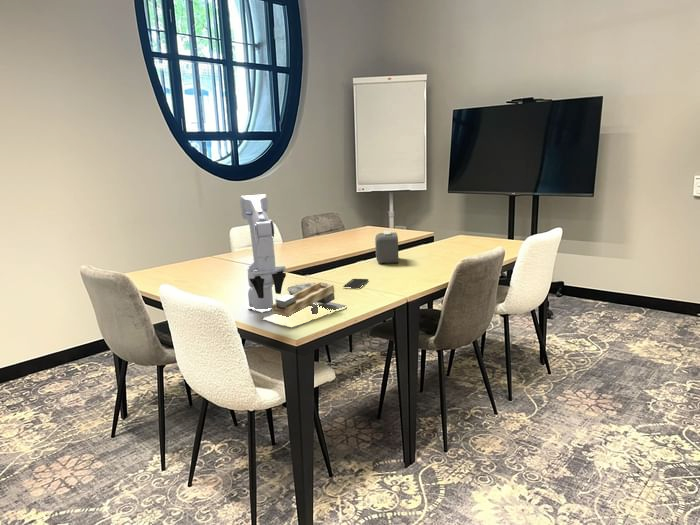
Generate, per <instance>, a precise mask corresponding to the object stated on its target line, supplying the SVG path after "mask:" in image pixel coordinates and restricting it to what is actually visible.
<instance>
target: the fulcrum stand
mask: <svg viewBox="0 0 700 525" xmlns="http://www.w3.org/2000/svg"><path fill="white" fill-rule="evenodd" d="M317 303H318V305H319V307H320V306H322V308H323V307H324V308H325V309H327V308H328V309H329V310H330V309H331V310H332V309H333V310H336V309H339V308H342V307H345V306H347V305H346V304H341V303H338V302H337V303H336V302H333V301H331V302H329V303H327V304H323V303H319V302H315V304H316V305H317ZM318 305H317V306H318ZM328 309H327V310H328ZM311 311H312V314H317V313H318V307H313V308H311ZM330 312H331V311H330Z"/></svg>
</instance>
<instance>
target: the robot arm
mask: <svg viewBox="0 0 700 525" xmlns="http://www.w3.org/2000/svg"><path fill="white" fill-rule="evenodd" d="M239 204H240V210H241V217H242V219H244V220H246V221H247V223H248V225H249V231H250V232H249V234H250V240H251V248H252V256H253V257H252V258H253V262H252V263H251V264H249V266H248V268H247V279H248V280H247V281H248V286H249V289H248V292H247V293H248V294H247V296H248V306H250V307H254V308H255V309H268V308H272V306H271V305H273V304H274V299H273V298H274V296H273V288H274V291H275V294H277V295H281V294H282V288H283V284H284V282H285V278H286V276H287V275H286V272H287V270H286V268H287V267H286V266H285V265H280V266H276V258H275V257H276V255H275V248H274V247H275V243H274V237H275V226H274V223H273V220H272V219H270V218H269V216H268V208H269V201H268V196H267V195H266V194H265V193H263V194H252V195H241V196H240V197H239Z"/></svg>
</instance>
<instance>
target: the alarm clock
mask: <svg viewBox="0 0 700 525" xmlns="http://www.w3.org/2000/svg"><path fill="white" fill-rule="evenodd" d="M374 239H375V258H376V261H377V263H379V264H382V263H385V264H399V236H398V233H397V232H391V231H390V230H384V231H383V232H380V233H377V234H376V235H375V238H374Z"/></svg>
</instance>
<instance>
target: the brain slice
mask: <svg viewBox="0 0 700 525" xmlns="http://www.w3.org/2000/svg"><path fill="white" fill-rule="evenodd" d="M316 283H317V282H303V283H298V284H295V285H291V286H288V287H287V289H286V290H287V292H289V295H293V294H295V293H297V292H299V291H301V290H304V289H306V288H308V287H310V286H312V285H314V284H316ZM320 283H321V284H322V285H327V286H329V285H331V283H325V282H320Z"/></svg>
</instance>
